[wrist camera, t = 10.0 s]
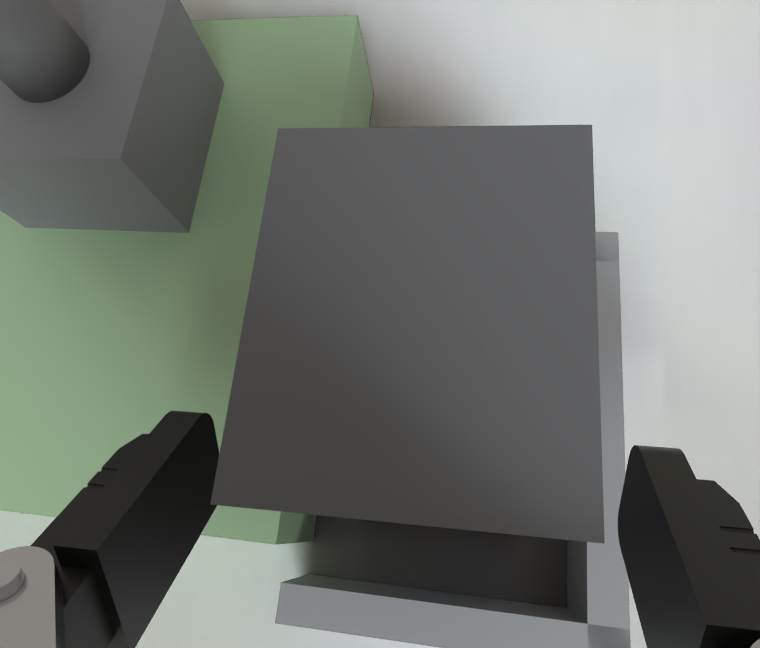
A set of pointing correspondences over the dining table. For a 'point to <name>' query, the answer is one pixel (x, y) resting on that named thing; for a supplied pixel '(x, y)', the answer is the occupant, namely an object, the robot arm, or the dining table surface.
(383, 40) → the dining table surface
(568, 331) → the tall grey cuboid
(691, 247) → the dining table surface
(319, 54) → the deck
